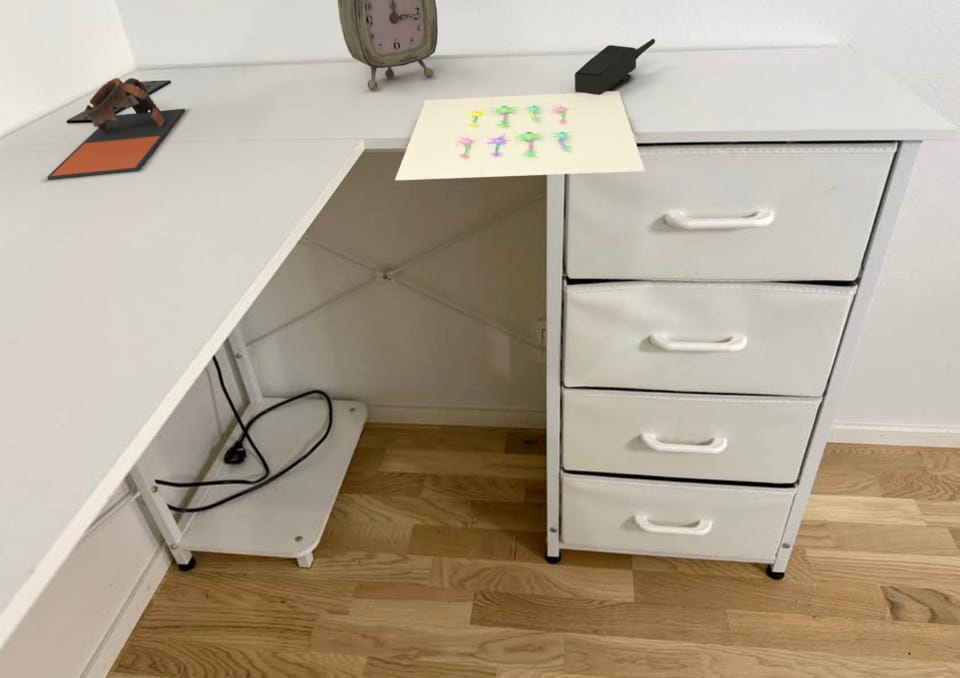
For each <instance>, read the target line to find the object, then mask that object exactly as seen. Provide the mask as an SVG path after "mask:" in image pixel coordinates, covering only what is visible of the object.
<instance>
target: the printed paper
mask: <svg viewBox="0 0 960 678" xmlns="http://www.w3.org/2000/svg"><path fill="white" fill-rule="evenodd" d="M629 172H646V170H645V166H644V163H643V161H642V157H641V154H640V151H639V148H638V146H637V142H636V139H635V136H634V133H633V130H632V127H631V124H630V121H629V118H628V115H627V112H626V109H625V105H624V102H623V99H622V96H621V93H620V91H619V90H611V91H608V92H604V93H603V94H601V95H595V94H589V93H581V92H569V93H549V94H547V93H545V94H527V95H525V94H524V95H507V96H506V95H505V96H503V95H502V96H485V97H463V98H446V99H445V98H443V99H425V100H424V103H423V105H422V108H421V110H420V113H419V115H418V118H417V121H416V124H415V126H414V129H413V131H412V134H411V137H410V139H409V142H408V145H407V147H406V150H405V152H404V154H403V158H402V160H401V163H400V166H399V168H398V170H397V174H396V177H395V179H394V181H414V180H415V181H416V180H441V179H443V180H445V179H465V178H466V179H468V178H469V179H470V178H490V177H491V178H494V177H521V176H522V177H523V176H547V175H549V176H551V175H576V174H597V173H598V174H600V173H602V174H605V173H629Z"/></svg>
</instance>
